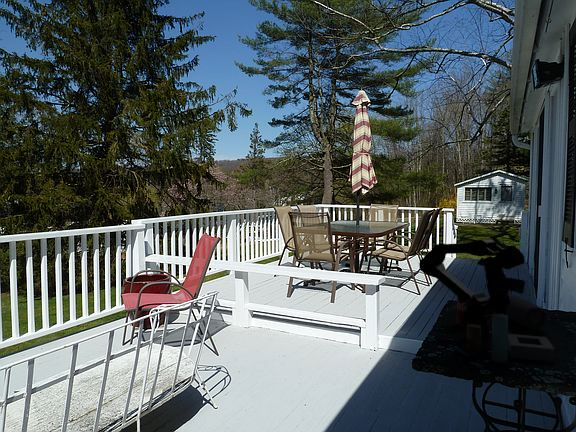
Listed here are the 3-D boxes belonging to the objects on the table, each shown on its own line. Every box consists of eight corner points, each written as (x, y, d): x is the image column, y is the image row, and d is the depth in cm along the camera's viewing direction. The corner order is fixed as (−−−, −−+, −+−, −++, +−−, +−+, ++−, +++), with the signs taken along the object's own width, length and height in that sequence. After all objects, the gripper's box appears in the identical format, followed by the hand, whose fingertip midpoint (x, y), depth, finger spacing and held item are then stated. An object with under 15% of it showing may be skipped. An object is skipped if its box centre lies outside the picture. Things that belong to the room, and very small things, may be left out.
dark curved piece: (548, 332, 165) (549, 305, 164) (523, 332, 165) (523, 305, 165) (518, 315, 188) (518, 292, 187) (495, 315, 188) (496, 292, 187)
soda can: (460, 321, 180) (460, 291, 179) (479, 324, 175) (479, 294, 174) (454, 325, 174) (454, 295, 173) (473, 329, 169) (473, 297, 169)
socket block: (510, 357, 140) (510, 345, 140) (505, 345, 151) (506, 333, 151) (554, 362, 136) (554, 349, 136) (546, 349, 147) (546, 337, 147)
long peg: (492, 362, 137) (493, 316, 136) (491, 357, 141) (491, 313, 140) (508, 363, 135) (509, 318, 134) (506, 358, 139) (507, 314, 139)
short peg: (466, 351, 146) (467, 327, 145) (466, 347, 150) (466, 323, 149) (481, 353, 144) (481, 328, 144) (480, 348, 148) (480, 325, 148)
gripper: (520, 260, 143) (531, 308, 135) (520, 279, 157) (531, 323, 150) (482, 265, 147) (491, 311, 139) (486, 283, 162) (495, 326, 154)
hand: (503, 318), depth 146 cm, fingers open, 9 cm apart
